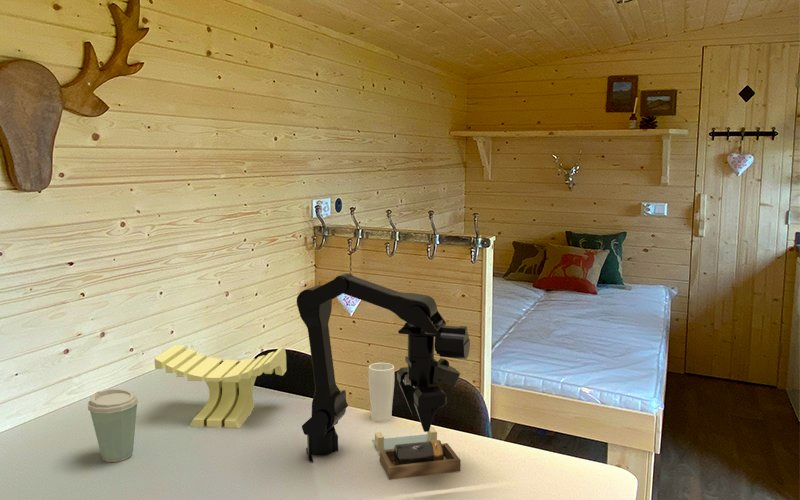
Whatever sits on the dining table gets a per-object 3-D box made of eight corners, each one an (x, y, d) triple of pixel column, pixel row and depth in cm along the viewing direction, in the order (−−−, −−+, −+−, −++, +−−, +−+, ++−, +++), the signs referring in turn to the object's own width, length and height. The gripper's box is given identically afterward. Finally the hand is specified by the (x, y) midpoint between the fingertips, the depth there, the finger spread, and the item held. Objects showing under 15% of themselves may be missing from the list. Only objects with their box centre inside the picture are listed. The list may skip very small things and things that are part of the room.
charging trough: (389, 483, 139) (389, 468, 139) (379, 465, 148) (379, 450, 147) (460, 475, 143) (460, 460, 143) (447, 457, 152) (447, 443, 151)
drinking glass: (391, 427, 169) (391, 371, 167) (365, 425, 170) (365, 369, 168) (396, 417, 175) (396, 363, 173) (372, 415, 177) (372, 361, 175)
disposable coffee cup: (151, 450, 154) (148, 389, 152) (118, 470, 144) (114, 405, 142) (115, 444, 158) (111, 384, 156) (80, 463, 148) (75, 399, 146)
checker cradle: (379, 460, 150) (379, 443, 150) (371, 443, 159) (371, 428, 158) (441, 453, 154) (441, 436, 153) (430, 437, 163) (430, 422, 162)
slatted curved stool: (287, 406, 183) (285, 344, 181) (271, 429, 167) (269, 361, 165) (182, 402, 185) (180, 341, 183) (157, 425, 170) (154, 358, 167)
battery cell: (400, 471, 142) (398, 447, 142) (394, 465, 146) (393, 442, 147) (444, 466, 144) (442, 442, 144) (437, 460, 149) (436, 437, 149)
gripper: (471, 364, 135) (469, 436, 137) (442, 340, 153) (442, 405, 155) (419, 368, 132) (418, 442, 134) (396, 343, 150) (396, 409, 152)
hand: (420, 423), depth 144 cm, fingers open, 9 cm apart
